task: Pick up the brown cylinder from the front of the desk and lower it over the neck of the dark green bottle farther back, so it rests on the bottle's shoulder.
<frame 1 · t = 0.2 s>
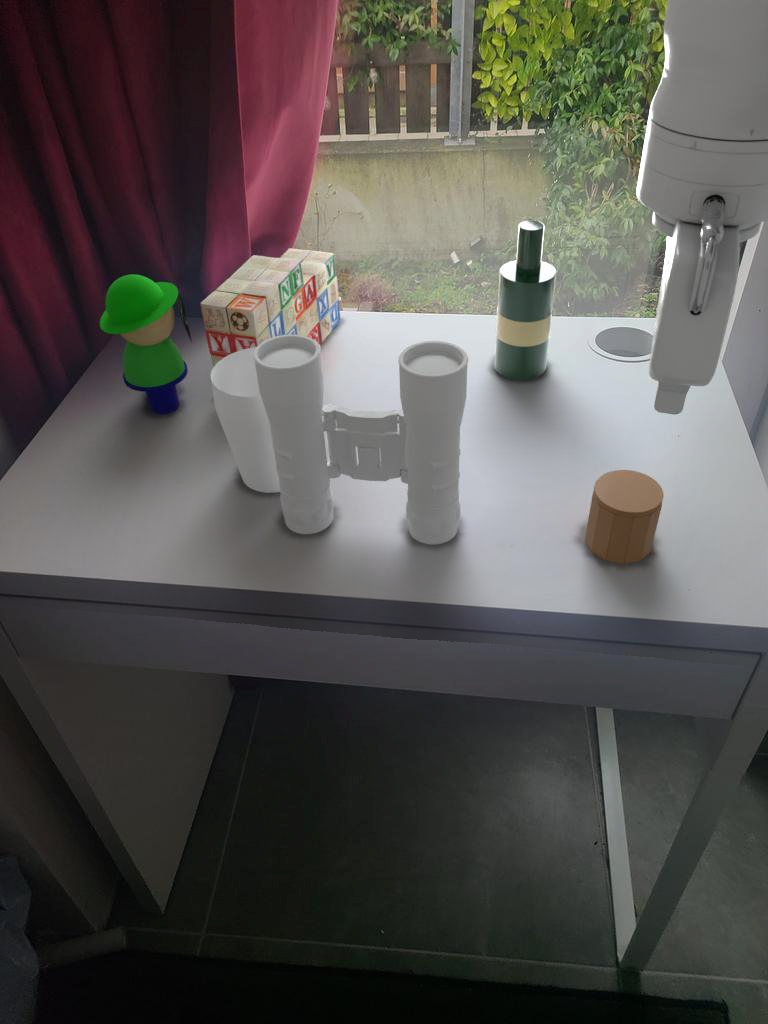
hand: (671, 371, 57), 20 cm above the table, tool pointing down, fingers open, 8 cm apart
bottle: (520, 367, 96), on the table
toy: (163, 401, 93), on the table
stack of blocks: (284, 360, 99), on the table
binoculars: (370, 524, 76), on the table
cup: (275, 474, 82), on the table
brown cylinder: (617, 541, 73), on the table
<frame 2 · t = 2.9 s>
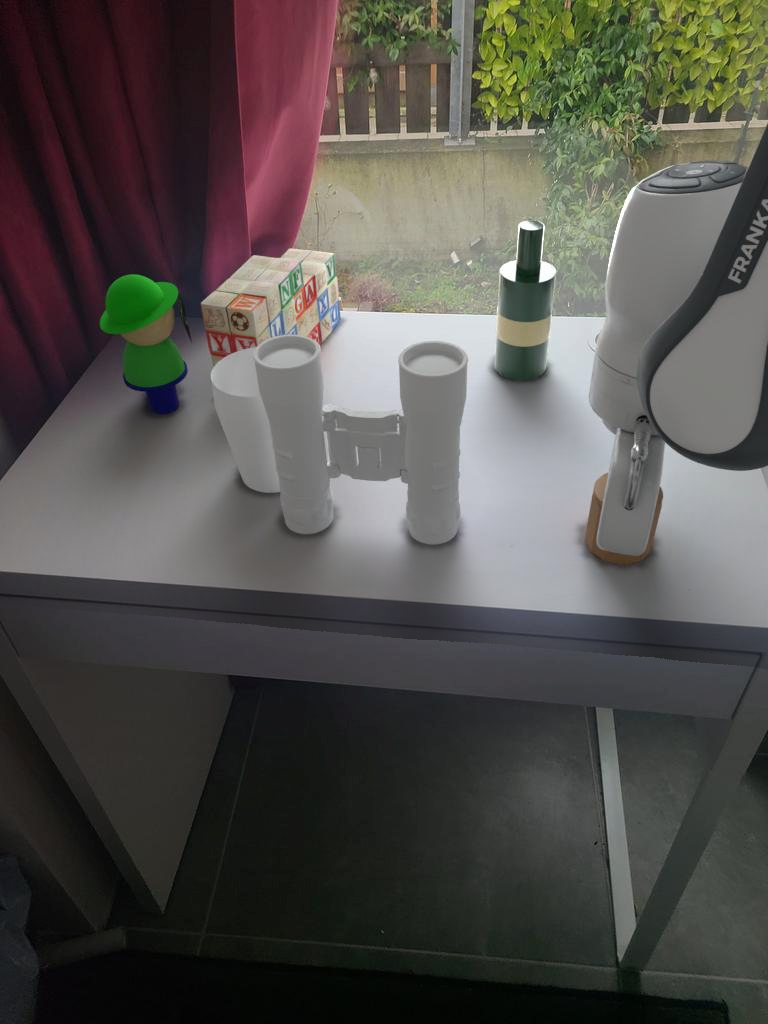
hand: (622, 519, 71), 3 cm above the table, tool pointing down, fingers closed on brown cylinder, 6 cm apart
brown cylinder: (617, 542, 73), on the table, touching gripper
everything else where it was.
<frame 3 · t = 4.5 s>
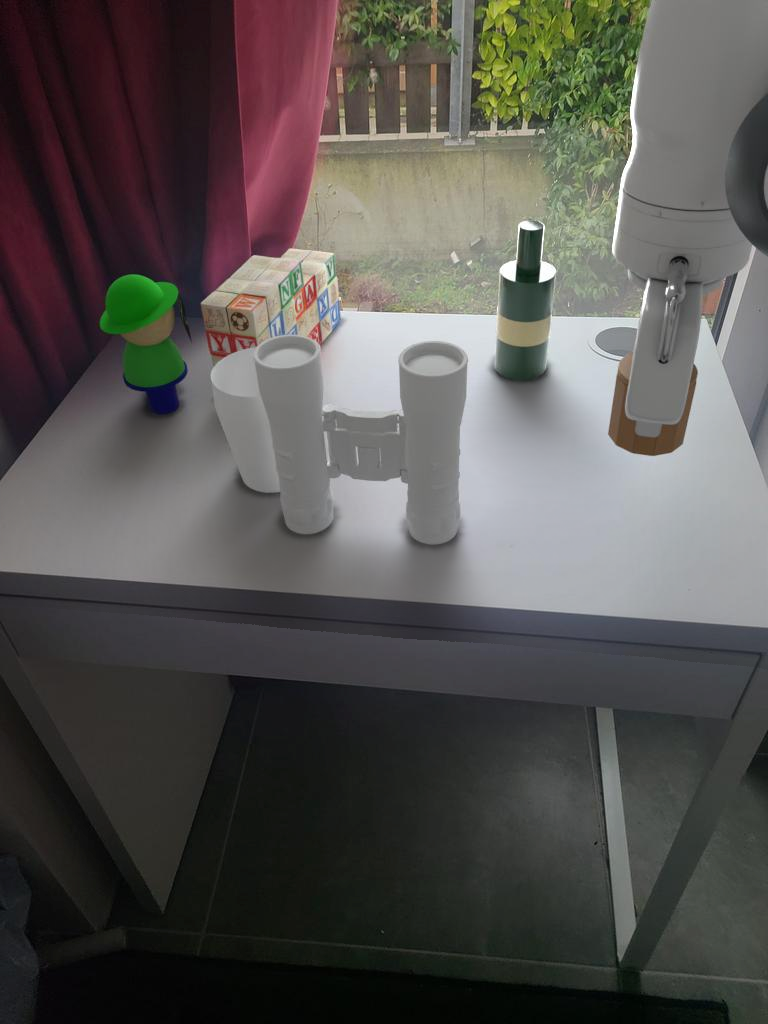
hand: (650, 405, 63), 15 cm above the table, tool pointing down, fingers closed on brown cylinder, 6 cm apart
brown cylinder: (645, 434, 65), point 12 cm above the table, touching gripper
everything else where it was.
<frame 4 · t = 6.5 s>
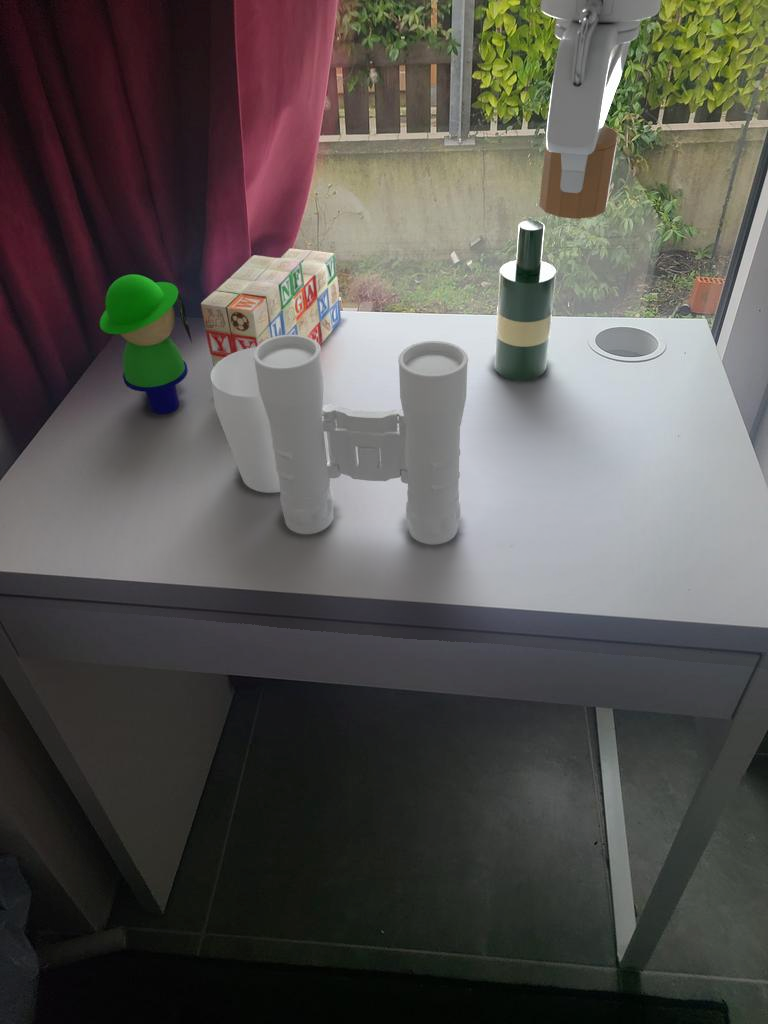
hand: (577, 174, 70), 26 cm above the table, tool pointing down, fingers closed on brown cylinder, 6 cm apart
brown cylinder: (572, 205, 71), point 23 cm above the table, touching gripper
everything else where it was.
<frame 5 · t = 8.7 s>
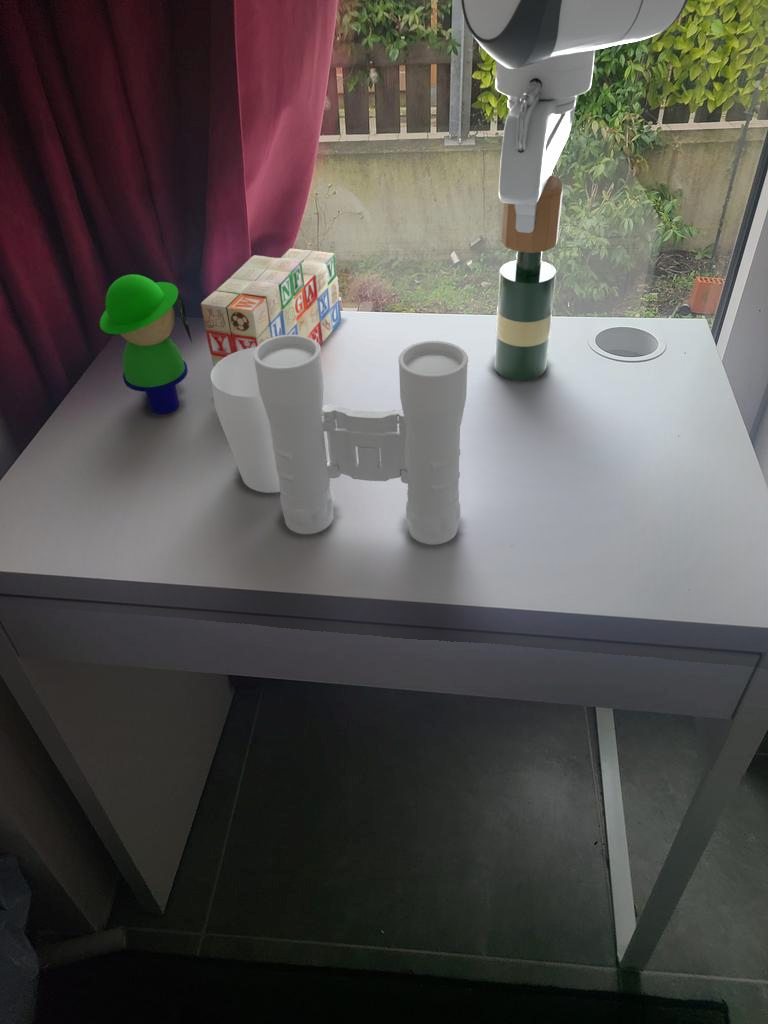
hand: (531, 216, 84), 18 cm above the table, tool pointing down, fingers closed on brown cylinder, 6 cm apart
brown cylinder: (529, 241, 85), point 15 cm above the table, touching gripper
everything else where it was.
when the fingers open (15 cm above the table, at t = 10.2 s): brown cylinder stays where it is, resting on bottle.
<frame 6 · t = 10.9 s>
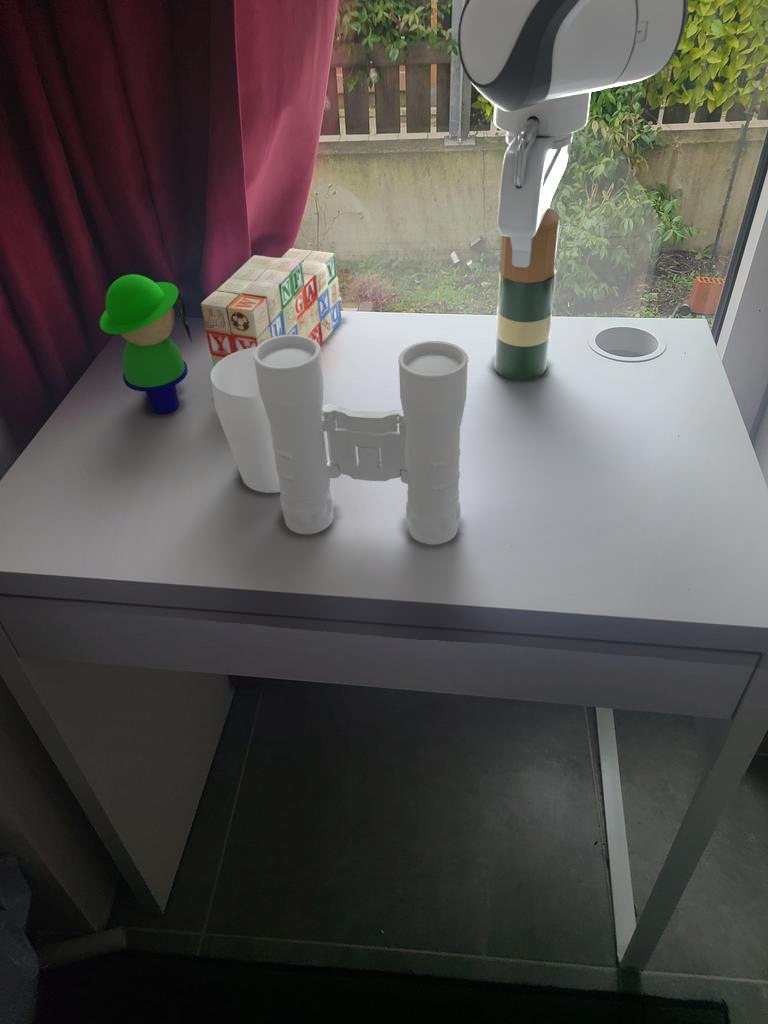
hand: (530, 245, 86), 15 cm above the table, tool pointing down, fingers open, 8 cm apart
brown cylinder: (527, 271, 88), point 12 cm above the table, touching bottle
everything else where it was.
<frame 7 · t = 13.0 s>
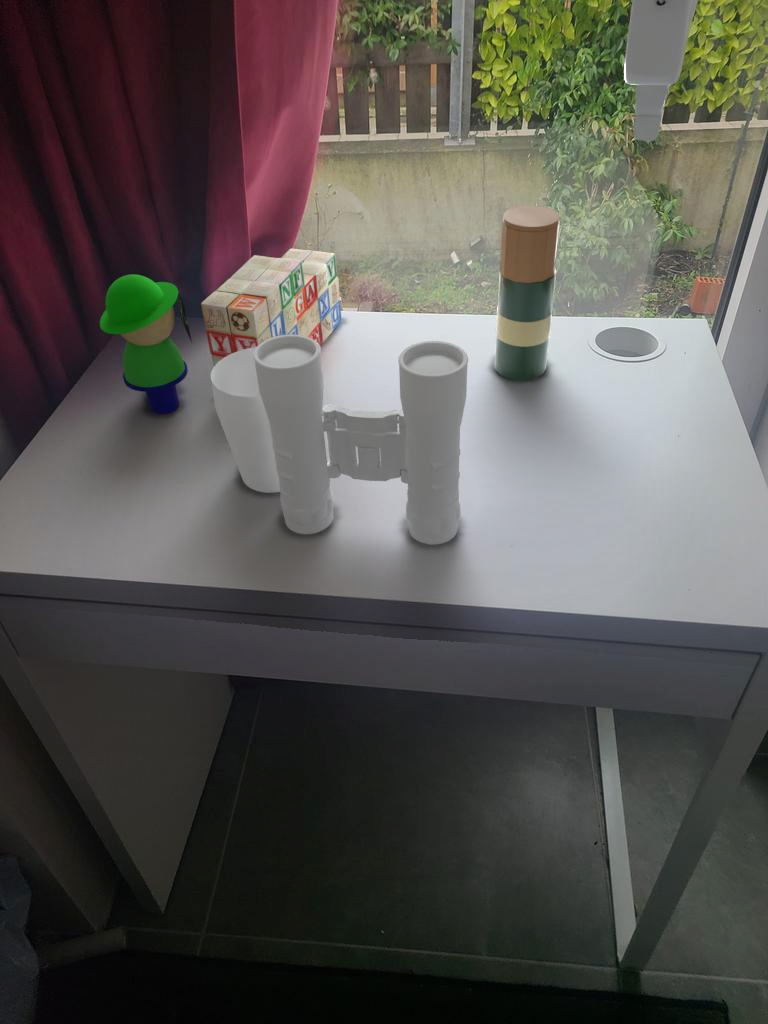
hand: (650, 119, 64), 31 cm above the table, tool pointing down, fingers open, 8 cm apart
nothing on the table moved.
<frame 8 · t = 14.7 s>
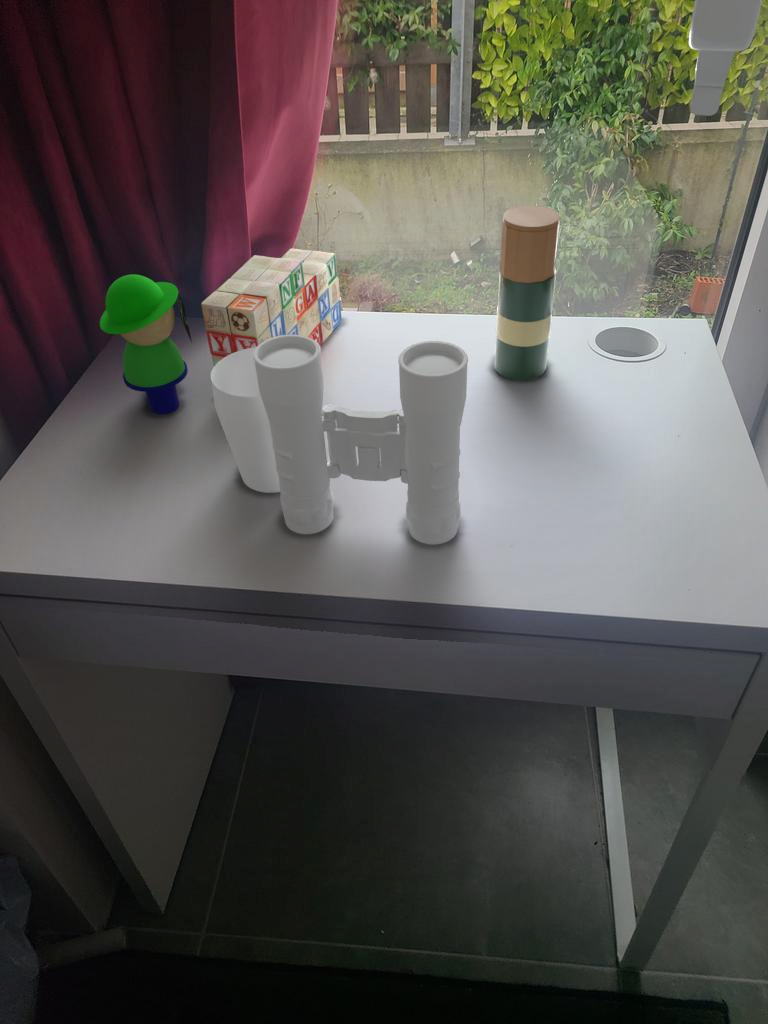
hand: (705, 93, 58), 34 cm above the table, tool pointing down, fingers open, 8 cm apart
nothing on the table moved.
at the end: brown cylinder 0.1 cm off-centre on the bottle, point 12.0 cm above the bottle's base; brown cylinder tilted 0°; the gripper is holding nothing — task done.
